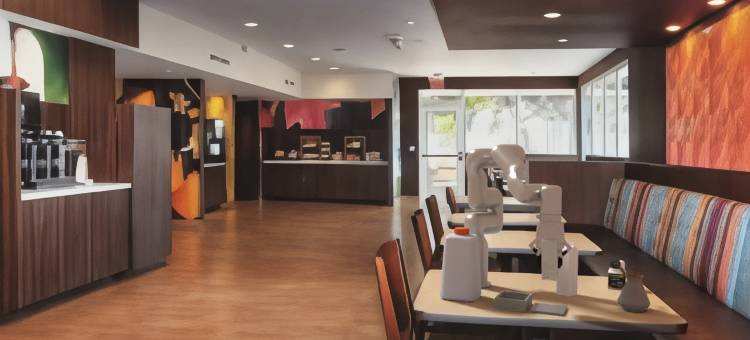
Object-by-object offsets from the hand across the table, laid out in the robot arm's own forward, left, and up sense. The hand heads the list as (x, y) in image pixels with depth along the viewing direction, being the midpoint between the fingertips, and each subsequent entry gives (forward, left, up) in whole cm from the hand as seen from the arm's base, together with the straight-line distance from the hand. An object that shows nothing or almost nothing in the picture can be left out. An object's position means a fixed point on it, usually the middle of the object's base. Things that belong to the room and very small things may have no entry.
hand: (549, 266), depth 229 cm
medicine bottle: (+21, +51, -17) cm, 58 cm away
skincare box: (0, 0, -5) cm, 5 cm away
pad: (0, 0, -16) cm, 16 cm away
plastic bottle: (-35, +4, -17) cm, 39 cm away
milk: (+3, +28, -17) cm, 33 cm away
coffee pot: (+26, +20, -17) cm, 37 cm away
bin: (-13, 0, -16) cm, 21 cm away
